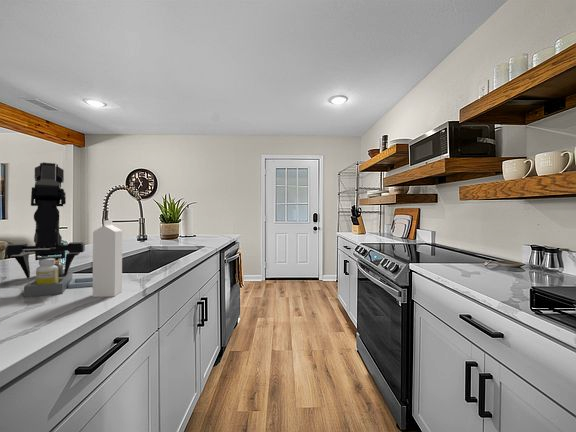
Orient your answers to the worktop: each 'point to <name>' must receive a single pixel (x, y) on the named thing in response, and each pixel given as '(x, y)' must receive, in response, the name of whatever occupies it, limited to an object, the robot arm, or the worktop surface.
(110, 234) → the milk
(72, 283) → the tray frame
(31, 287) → the shallow grey tray
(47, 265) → the supplement bottle
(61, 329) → the worktop surface
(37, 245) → the robot arm
